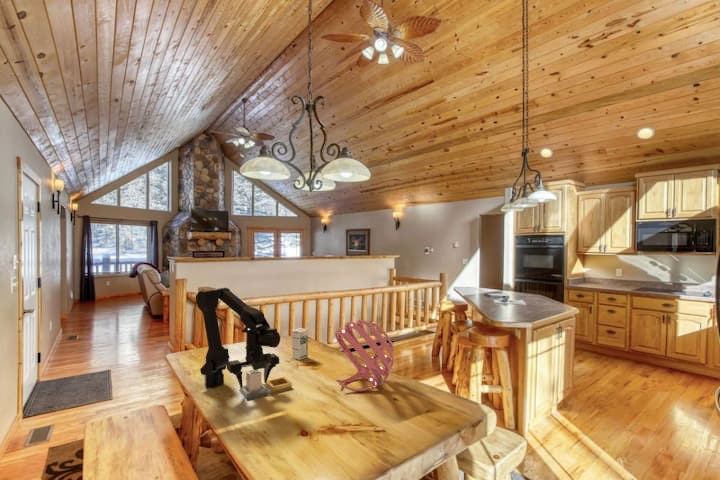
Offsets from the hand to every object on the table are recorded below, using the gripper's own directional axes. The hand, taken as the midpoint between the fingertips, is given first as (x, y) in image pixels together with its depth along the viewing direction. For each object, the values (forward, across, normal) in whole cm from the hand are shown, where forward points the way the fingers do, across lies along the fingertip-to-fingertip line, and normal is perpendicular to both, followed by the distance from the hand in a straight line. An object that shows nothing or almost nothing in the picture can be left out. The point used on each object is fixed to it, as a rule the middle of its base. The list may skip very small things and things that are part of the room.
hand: (253, 385), depth 132 cm
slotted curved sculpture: (+4, +41, -16) cm, 44 cm away
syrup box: (+4, +34, +32) cm, 47 cm away
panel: (+4, +5, 0) cm, 6 cm away
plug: (+3, 0, 0) cm, 3 cm away
